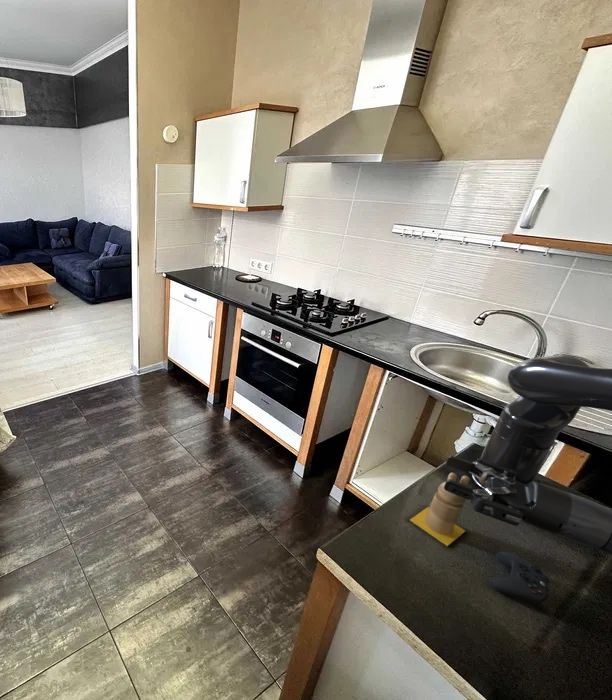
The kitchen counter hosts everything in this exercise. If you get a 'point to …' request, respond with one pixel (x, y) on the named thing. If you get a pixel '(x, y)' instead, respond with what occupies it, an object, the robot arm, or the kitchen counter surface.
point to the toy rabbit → (445, 508)
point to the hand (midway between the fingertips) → (446, 471)
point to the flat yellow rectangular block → (441, 537)
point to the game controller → (522, 580)
